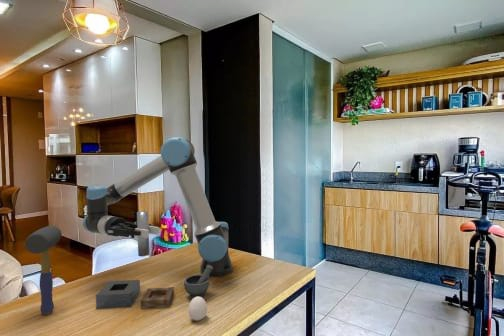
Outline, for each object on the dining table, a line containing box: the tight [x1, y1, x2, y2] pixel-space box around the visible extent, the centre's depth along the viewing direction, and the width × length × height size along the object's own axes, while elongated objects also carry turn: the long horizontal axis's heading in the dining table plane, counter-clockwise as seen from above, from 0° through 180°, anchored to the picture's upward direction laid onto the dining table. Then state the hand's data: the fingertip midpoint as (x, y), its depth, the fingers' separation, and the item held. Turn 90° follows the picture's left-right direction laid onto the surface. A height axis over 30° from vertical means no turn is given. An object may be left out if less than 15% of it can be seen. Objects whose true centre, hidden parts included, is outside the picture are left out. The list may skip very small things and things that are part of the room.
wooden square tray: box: [140, 286, 175, 310], centre depth 111 cm, size 10×10×3 cm
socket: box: [95, 279, 141, 310], centre depth 113 cm, size 12×12×5 cm
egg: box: [188, 296, 208, 321], centre depth 99 cm, size 6×6×8 cm
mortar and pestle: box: [183, 265, 213, 302], centre depth 115 cm, size 11×9×12 cm
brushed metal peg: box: [136, 210, 151, 257], centre depth 111 cm, size 4×4×16 cm
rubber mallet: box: [24, 225, 62, 315], centre depth 103 cm, size 12×8×30 cm, turn 13°
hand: (153, 232), depth 108 cm, fingers closed on brushed metal peg, 4 cm apart
